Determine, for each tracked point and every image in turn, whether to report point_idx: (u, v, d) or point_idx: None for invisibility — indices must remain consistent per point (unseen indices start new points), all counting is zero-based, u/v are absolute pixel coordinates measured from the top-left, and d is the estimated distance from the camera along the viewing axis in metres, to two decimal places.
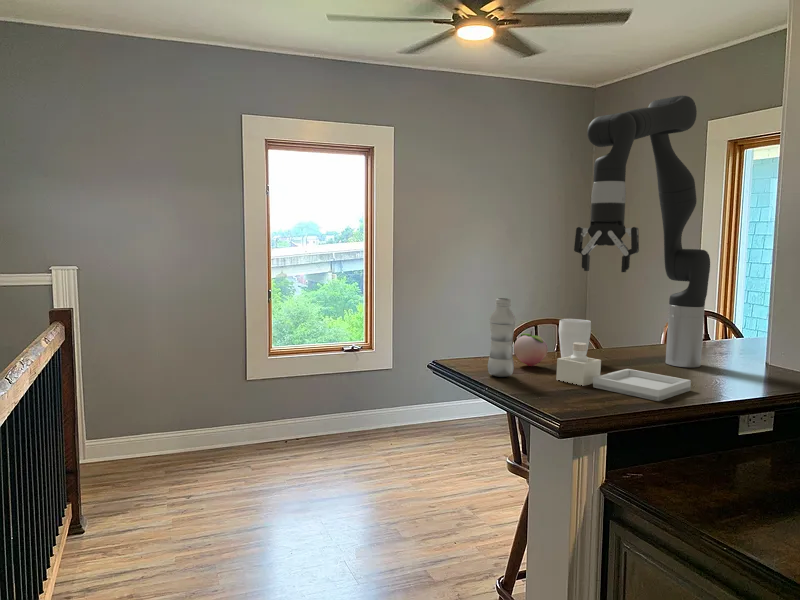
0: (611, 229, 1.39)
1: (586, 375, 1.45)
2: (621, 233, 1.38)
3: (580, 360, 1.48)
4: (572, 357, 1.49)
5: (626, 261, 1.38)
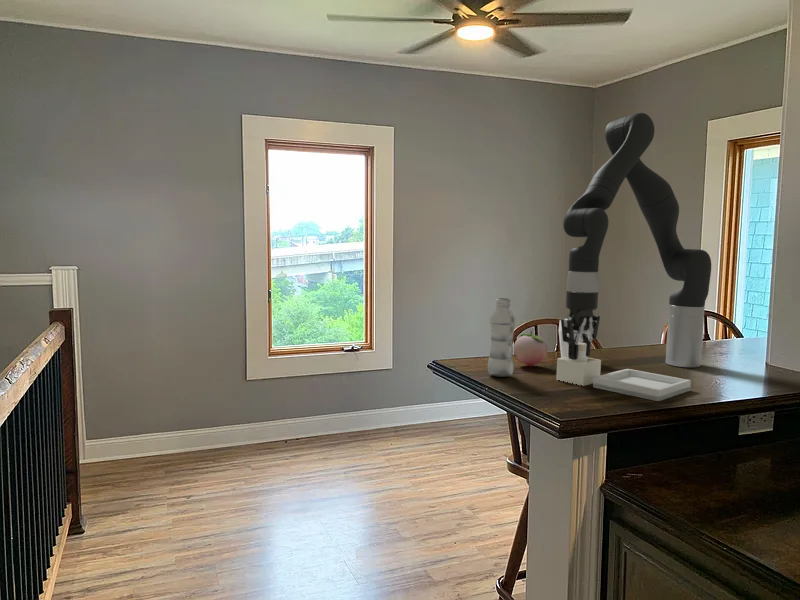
0: (588, 315, 1.49)
1: (586, 375, 1.45)
2: (591, 319, 1.50)
3: (580, 360, 1.48)
4: None
5: None
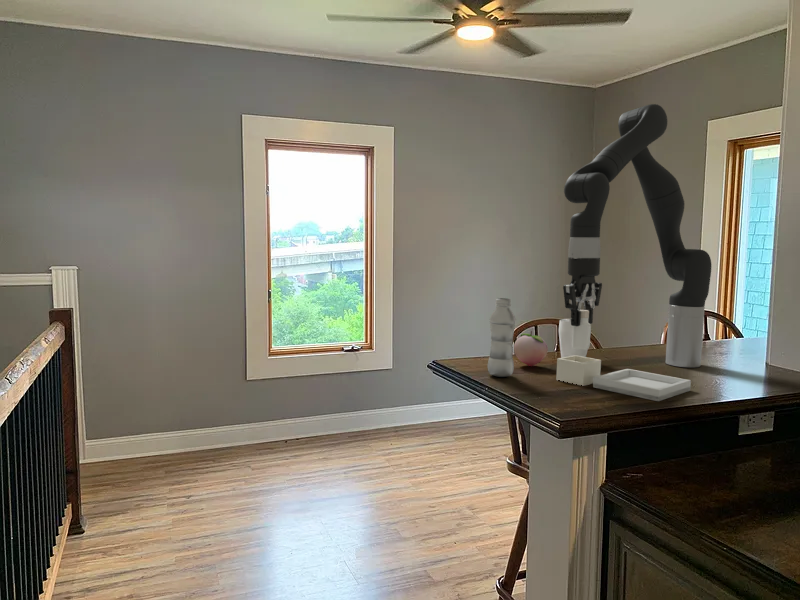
0: (590, 282, 1.48)
1: (586, 375, 1.45)
2: (594, 285, 1.49)
3: (583, 327, 1.47)
4: None
5: None
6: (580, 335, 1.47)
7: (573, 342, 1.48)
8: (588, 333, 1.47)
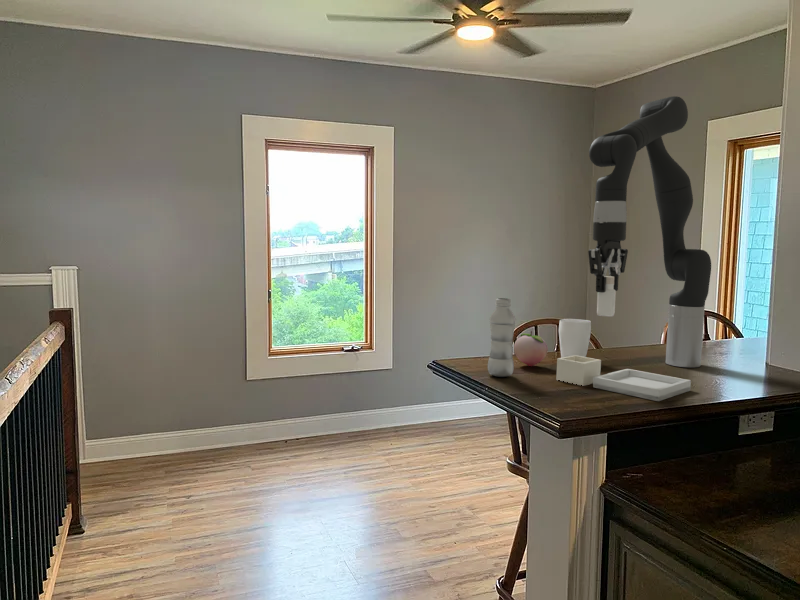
0: (615, 247, 1.44)
1: (586, 375, 1.45)
2: (619, 251, 1.46)
3: (608, 293, 1.43)
4: None
5: None
6: (605, 301, 1.44)
7: (598, 309, 1.45)
8: (613, 299, 1.43)
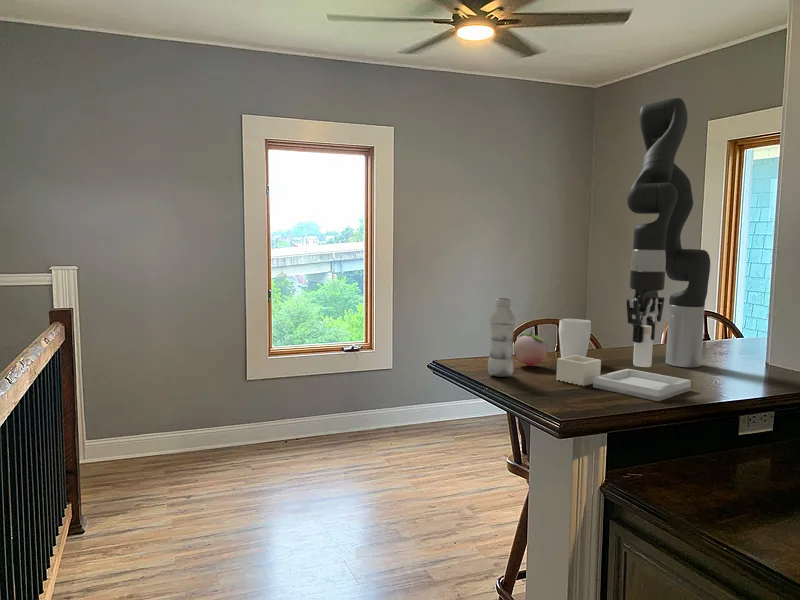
0: (653, 296, 1.41)
1: (586, 375, 1.45)
2: None
3: (645, 343, 1.40)
4: None
5: None
6: (642, 352, 1.40)
7: (634, 359, 1.41)
8: (651, 350, 1.40)
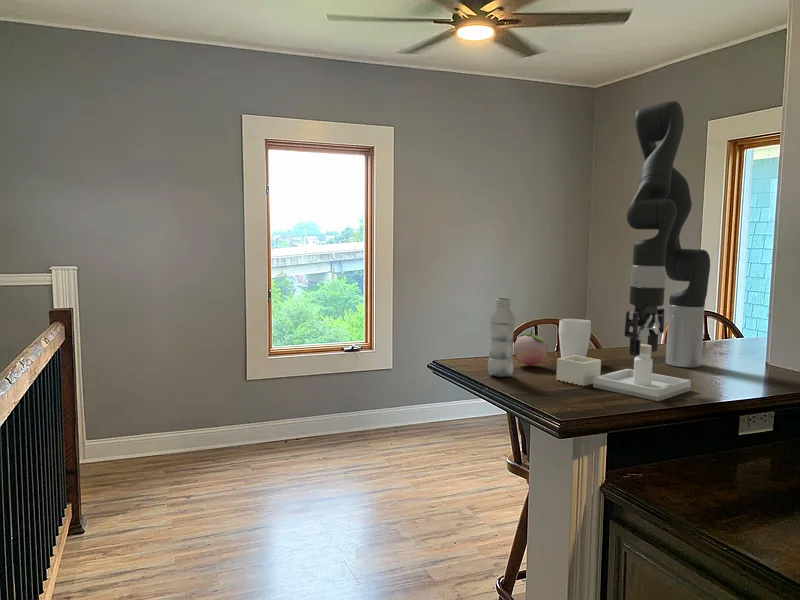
0: (653, 312, 1.41)
1: (586, 375, 1.45)
2: None
3: (645, 363, 1.40)
4: (636, 359, 1.41)
5: None
6: (642, 371, 1.41)
7: (634, 378, 1.42)
8: (651, 369, 1.40)
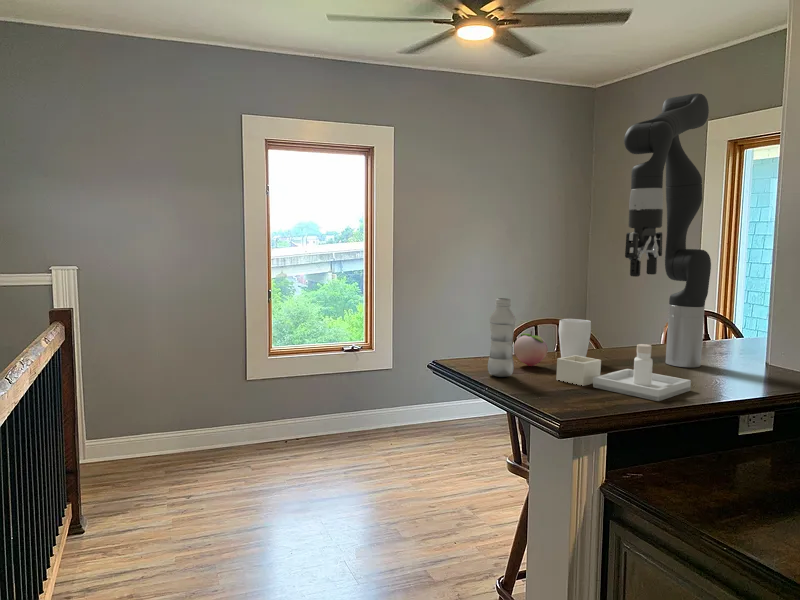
0: (651, 234, 1.45)
1: (586, 375, 1.45)
2: None
3: (645, 363, 1.40)
4: (636, 359, 1.41)
5: None
6: (642, 371, 1.41)
7: (634, 378, 1.42)
8: (651, 369, 1.40)
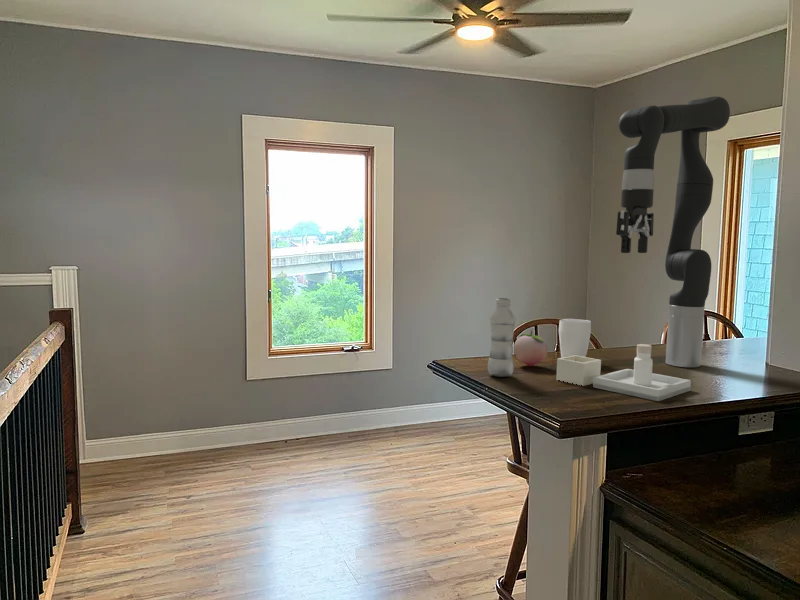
0: (642, 214, 1.52)
1: (586, 375, 1.45)
2: None
3: (645, 363, 1.40)
4: (636, 359, 1.41)
5: None
6: (642, 371, 1.41)
7: (634, 378, 1.42)
8: (651, 369, 1.40)
